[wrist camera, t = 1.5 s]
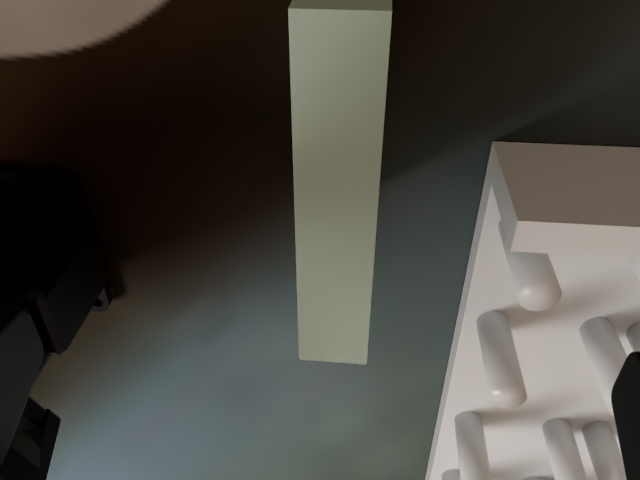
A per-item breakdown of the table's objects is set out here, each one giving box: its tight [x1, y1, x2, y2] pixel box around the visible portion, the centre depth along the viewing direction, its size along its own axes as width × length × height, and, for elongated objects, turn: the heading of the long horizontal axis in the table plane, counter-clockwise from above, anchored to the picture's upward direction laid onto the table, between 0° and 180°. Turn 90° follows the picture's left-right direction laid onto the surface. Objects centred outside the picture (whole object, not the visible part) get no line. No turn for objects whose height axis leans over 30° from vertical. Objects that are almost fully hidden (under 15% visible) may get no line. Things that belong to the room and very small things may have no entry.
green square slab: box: [288, 0, 392, 364], centre depth 14 cm, size 2×8×8 cm, turn 0°
